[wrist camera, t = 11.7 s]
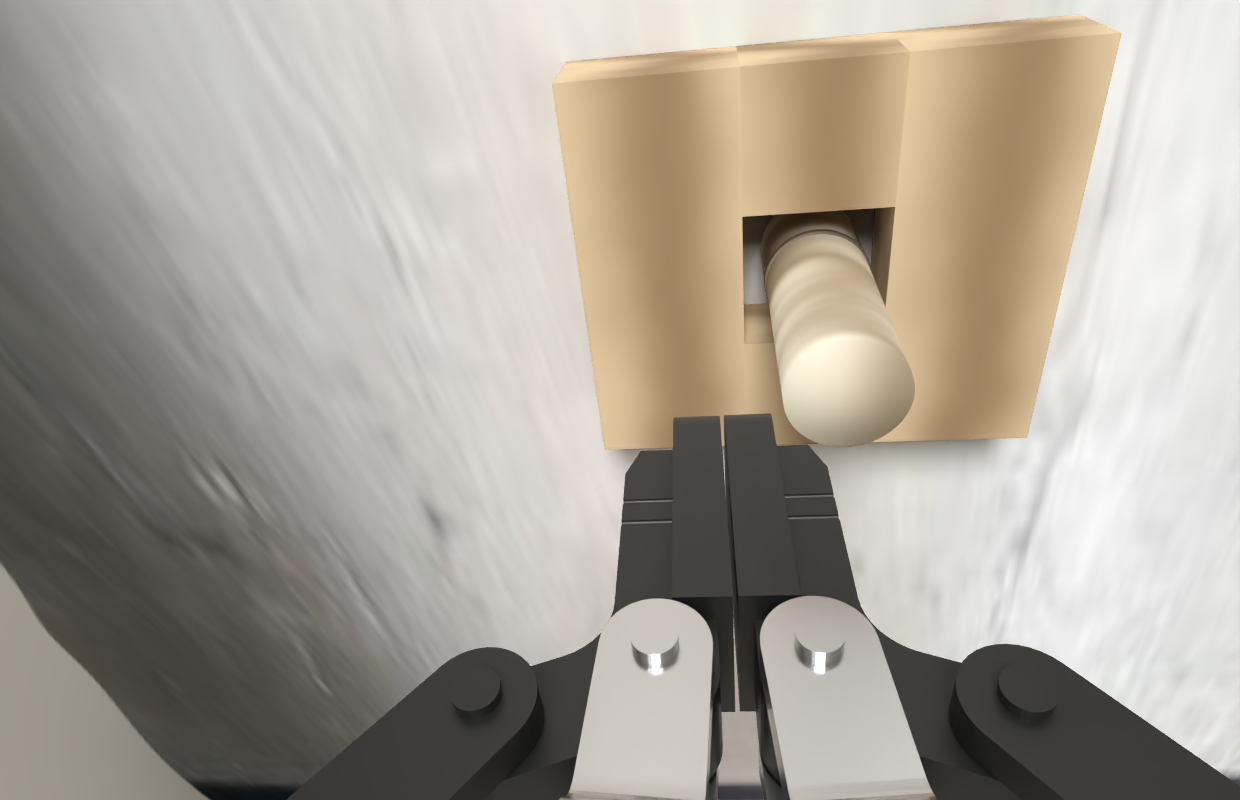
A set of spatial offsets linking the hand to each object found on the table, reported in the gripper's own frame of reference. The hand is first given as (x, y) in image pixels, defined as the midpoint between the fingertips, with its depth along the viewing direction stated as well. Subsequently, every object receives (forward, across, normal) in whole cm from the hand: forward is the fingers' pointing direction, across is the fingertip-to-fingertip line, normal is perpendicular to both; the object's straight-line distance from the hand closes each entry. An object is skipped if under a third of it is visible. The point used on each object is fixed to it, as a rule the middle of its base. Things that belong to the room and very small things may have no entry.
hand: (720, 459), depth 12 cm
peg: (+18, -4, +5) cm, 19 cm away
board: (+18, -4, +5) cm, 19 cm away
